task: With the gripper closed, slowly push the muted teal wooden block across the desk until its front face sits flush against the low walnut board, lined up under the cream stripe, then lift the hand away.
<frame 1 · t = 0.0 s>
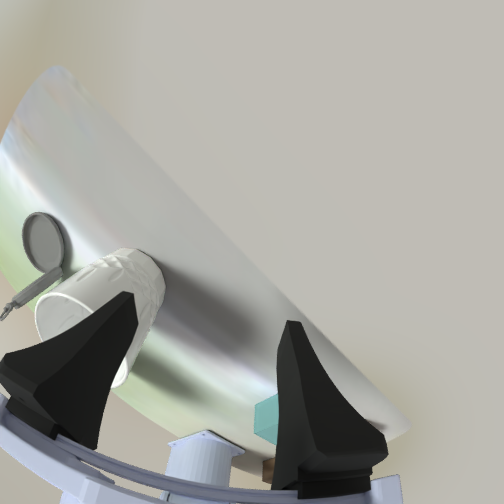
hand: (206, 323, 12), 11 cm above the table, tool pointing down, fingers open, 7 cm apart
teal block: (293, 406, 29), on the table
pocket watch: (50, 250, 23), on the table
white cup: (134, 280, 24), on the table
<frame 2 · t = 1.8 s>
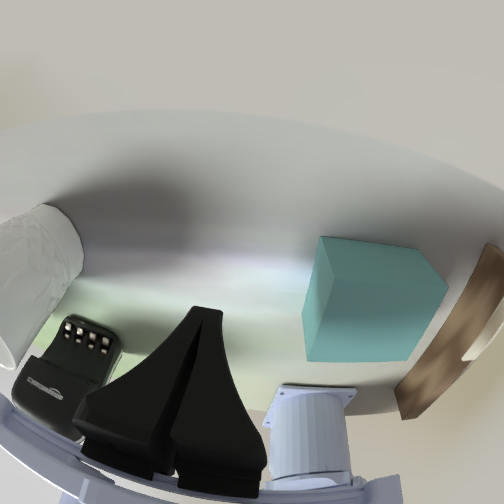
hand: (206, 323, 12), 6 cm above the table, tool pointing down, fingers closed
walnut board: (445, 332, 19), on the table
teal block: (360, 281, 17), on the table
battery charger: (93, 328, 22), on the table
white cup: (55, 241, 18), on the table
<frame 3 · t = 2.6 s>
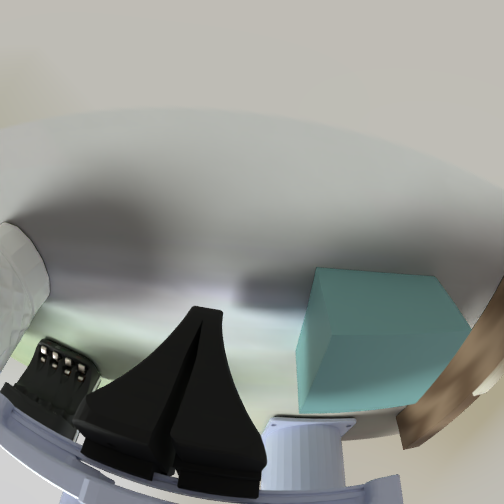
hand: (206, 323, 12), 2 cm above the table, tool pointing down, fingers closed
walnut board: (455, 360, 16), on the table
teal block: (364, 315, 14), on the table
battery charger: (70, 352, 19), on the table
white cup: (21, 262, 14), on the table
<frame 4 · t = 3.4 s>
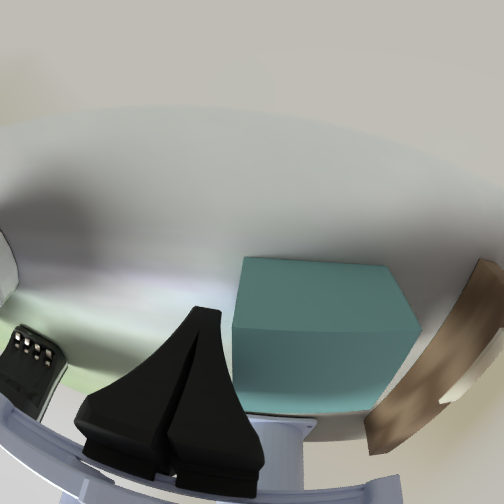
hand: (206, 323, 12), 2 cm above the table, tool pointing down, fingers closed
walnut board: (424, 362, 16), on the table
teal block: (309, 310, 14), on the table, touching gripper
battery charger: (41, 339, 19), on the table
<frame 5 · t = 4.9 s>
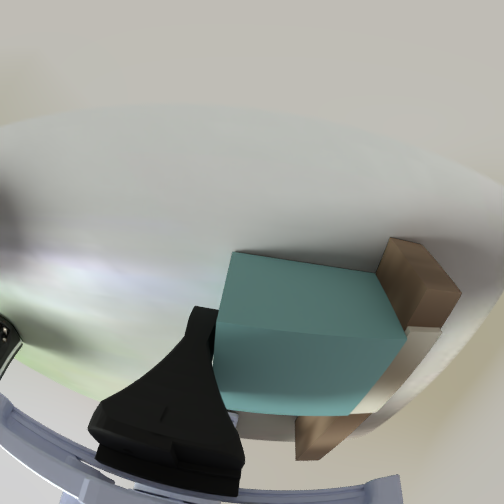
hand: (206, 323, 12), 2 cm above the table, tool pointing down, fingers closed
walnut board: (345, 363, 16), on the table
teal block: (293, 311, 14), on the table, touching gripper, walnut board
battery charger: (2, 319, 19), on the table
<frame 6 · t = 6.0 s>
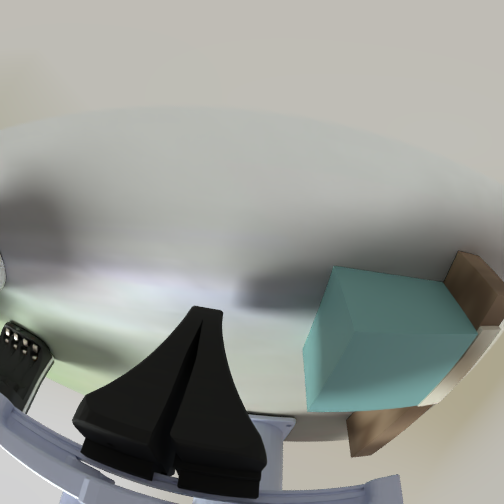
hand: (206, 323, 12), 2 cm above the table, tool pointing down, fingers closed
walnut board: (404, 362, 16), on the table
teal block: (373, 316, 14), on the table
battery charger: (29, 335, 19), on the table
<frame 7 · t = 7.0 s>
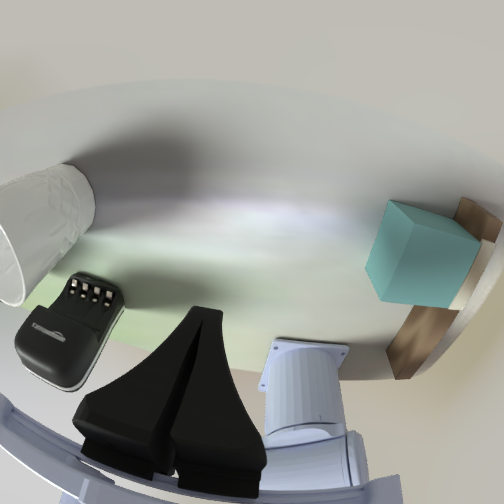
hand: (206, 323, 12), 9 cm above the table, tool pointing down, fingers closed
walnut board: (431, 287, 22), on the table
teal block: (411, 242, 20), on the table
battery charger: (98, 285, 24), on the table
white cup: (69, 199, 20), on the table
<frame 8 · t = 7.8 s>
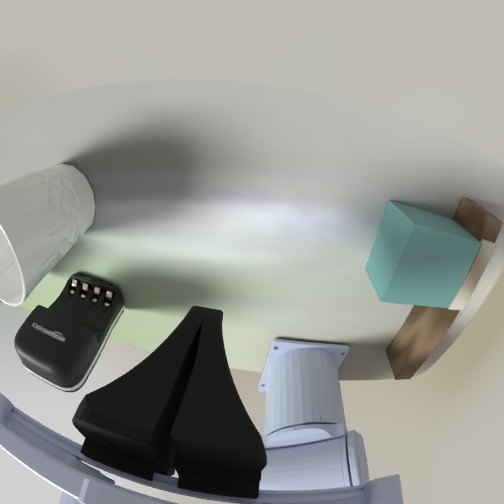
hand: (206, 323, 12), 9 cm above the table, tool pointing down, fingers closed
walnut board: (431, 287, 22), on the table
teal block: (411, 242, 20), on the table
battery charger: (98, 285, 24), on the table
white cup: (69, 199, 20), on the table
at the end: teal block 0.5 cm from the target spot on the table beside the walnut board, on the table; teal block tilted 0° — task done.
